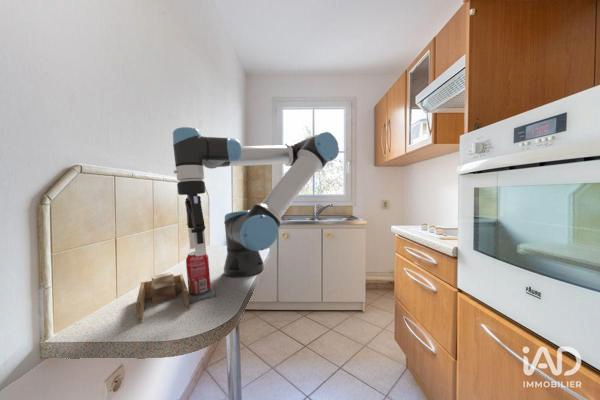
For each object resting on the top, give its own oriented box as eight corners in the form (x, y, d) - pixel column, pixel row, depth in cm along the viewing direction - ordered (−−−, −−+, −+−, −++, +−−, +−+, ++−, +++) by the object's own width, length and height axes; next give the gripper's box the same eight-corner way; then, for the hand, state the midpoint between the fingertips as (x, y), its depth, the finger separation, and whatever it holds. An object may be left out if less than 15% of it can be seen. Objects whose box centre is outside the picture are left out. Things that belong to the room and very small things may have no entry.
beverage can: (199, 287, 78) (196, 250, 78) (215, 288, 76) (212, 250, 76) (183, 295, 72) (180, 255, 72) (200, 296, 70) (197, 255, 70)
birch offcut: (170, 281, 76) (169, 272, 76) (173, 284, 73) (173, 274, 73) (152, 286, 72) (151, 276, 72) (155, 289, 70) (154, 278, 70)
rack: (183, 289, 79) (182, 274, 79) (189, 309, 63) (187, 290, 63) (142, 298, 73) (141, 282, 73) (138, 323, 58) (136, 302, 58)
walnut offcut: (174, 293, 76) (173, 281, 76) (175, 297, 73) (174, 284, 72) (152, 299, 73) (151, 286, 73) (152, 303, 70) (151, 289, 69)
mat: (209, 287, 79) (209, 285, 79) (215, 296, 71) (215, 294, 71) (186, 293, 75) (185, 291, 75) (189, 303, 68) (188, 300, 68)
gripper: (174, 185, 82) (180, 247, 82) (180, 177, 60) (188, 262, 61) (198, 183, 85) (204, 243, 86) (211, 176, 64) (219, 256, 64)
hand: (197, 251), depth 73 cm, fingers open, 13 cm apart
